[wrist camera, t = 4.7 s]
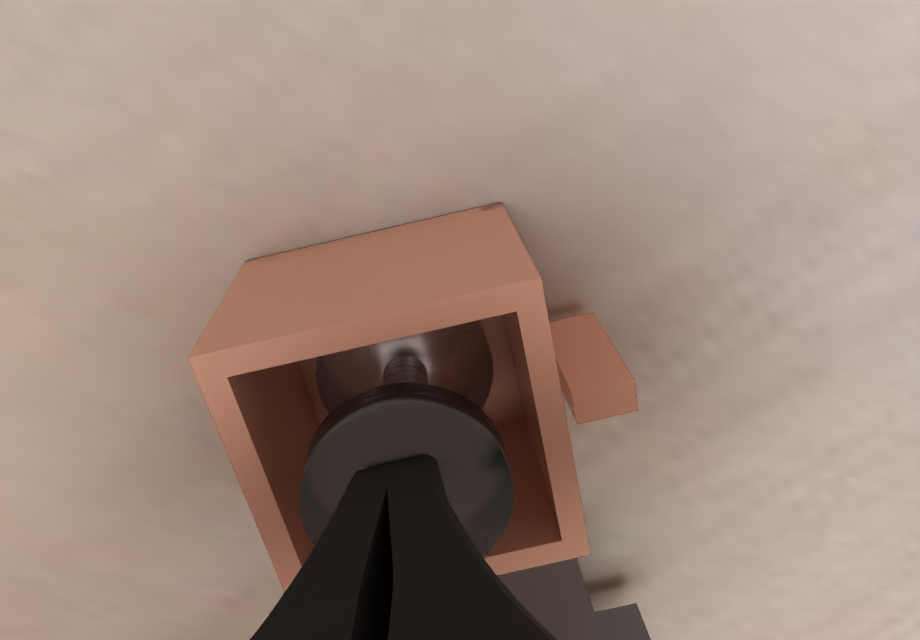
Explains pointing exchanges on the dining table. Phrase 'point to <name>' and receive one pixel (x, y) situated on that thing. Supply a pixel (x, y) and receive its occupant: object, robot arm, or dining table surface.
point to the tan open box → (395, 316)
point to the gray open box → (571, 604)
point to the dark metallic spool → (412, 426)
